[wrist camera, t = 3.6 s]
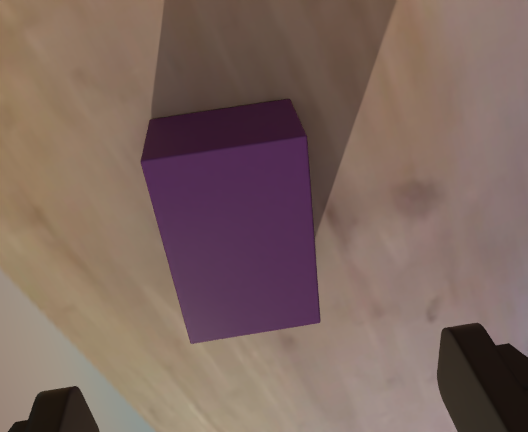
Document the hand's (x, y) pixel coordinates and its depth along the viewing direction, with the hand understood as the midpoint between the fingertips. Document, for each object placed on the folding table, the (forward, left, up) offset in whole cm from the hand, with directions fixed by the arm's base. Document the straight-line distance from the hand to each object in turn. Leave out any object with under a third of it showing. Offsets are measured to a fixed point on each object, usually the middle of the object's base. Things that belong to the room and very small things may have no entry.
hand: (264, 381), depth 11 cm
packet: (0, 0, -8) cm, 8 cm away
